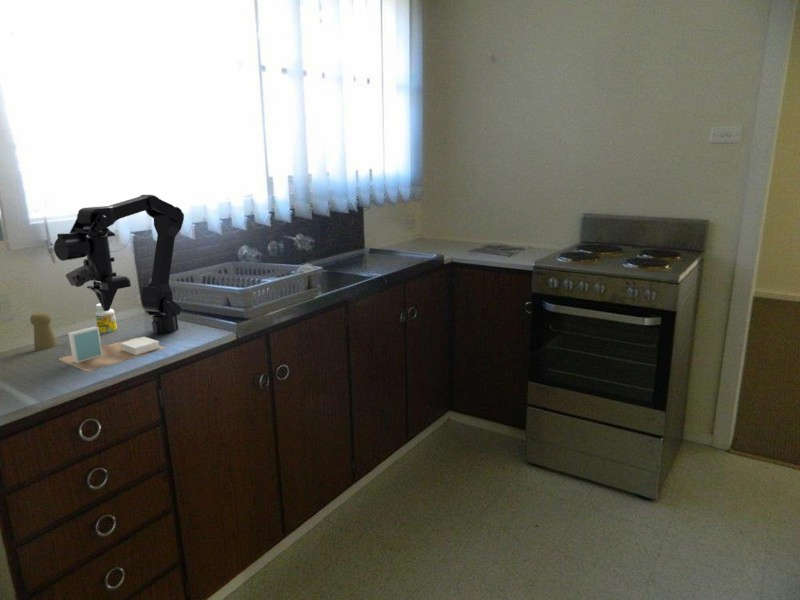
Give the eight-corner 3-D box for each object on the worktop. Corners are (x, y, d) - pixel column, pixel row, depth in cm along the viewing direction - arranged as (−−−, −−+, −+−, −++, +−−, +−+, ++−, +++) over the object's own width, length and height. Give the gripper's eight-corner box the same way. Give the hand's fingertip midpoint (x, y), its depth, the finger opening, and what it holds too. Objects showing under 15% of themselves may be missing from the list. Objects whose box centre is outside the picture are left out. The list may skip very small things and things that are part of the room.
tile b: (99, 354, 161) (95, 326, 159) (103, 355, 160) (98, 327, 158) (73, 361, 156) (68, 332, 154) (76, 363, 155) (71, 334, 153)
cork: (62, 345, 173) (56, 309, 170) (51, 352, 167) (44, 315, 165) (41, 346, 173) (34, 310, 170) (30, 353, 167) (22, 316, 164)
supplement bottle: (121, 330, 186) (116, 301, 184) (111, 336, 181) (107, 306, 179) (104, 331, 187) (99, 301, 184) (95, 336, 181) (90, 306, 179)
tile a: (143, 336, 169) (158, 341, 164) (144, 343, 169) (159, 348, 164) (120, 343, 163) (134, 348, 159) (121, 350, 164) (135, 355, 159)
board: (135, 340, 175) (135, 337, 175) (167, 350, 165) (166, 347, 165) (58, 362, 159) (57, 358, 159) (87, 375, 149) (86, 371, 148)
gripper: (51, 256, 157) (60, 312, 161) (85, 262, 146) (94, 322, 150) (92, 250, 166) (100, 304, 169) (128, 255, 155) (135, 312, 159)
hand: (106, 310), depth 162 cm, fingers closed
